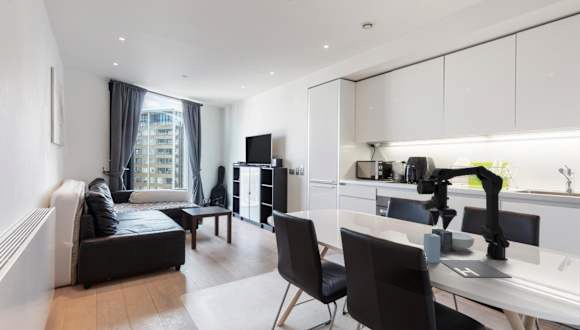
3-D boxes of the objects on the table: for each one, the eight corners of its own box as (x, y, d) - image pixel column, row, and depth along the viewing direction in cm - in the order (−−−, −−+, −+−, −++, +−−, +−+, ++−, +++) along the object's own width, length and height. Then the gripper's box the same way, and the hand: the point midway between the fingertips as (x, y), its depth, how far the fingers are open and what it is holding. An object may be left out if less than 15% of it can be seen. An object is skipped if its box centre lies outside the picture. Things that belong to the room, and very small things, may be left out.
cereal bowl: (481, 253, 142) (481, 239, 142) (447, 253, 143) (448, 239, 143) (461, 243, 159) (462, 231, 159) (431, 243, 160) (432, 230, 160)
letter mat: (479, 260, 132) (479, 260, 132) (511, 277, 113) (511, 276, 113) (438, 260, 131) (438, 259, 131) (464, 277, 112) (464, 276, 112)
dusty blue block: (434, 259, 133) (434, 233, 133) (439, 262, 128) (440, 236, 128) (423, 259, 133) (424, 233, 133) (428, 262, 128) (429, 236, 128)
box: (431, 249, 149) (431, 229, 149) (439, 248, 150) (440, 228, 150) (443, 253, 141) (443, 232, 141) (452, 252, 143) (452, 231, 143)
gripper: (415, 192, 144) (414, 222, 144) (432, 196, 126) (431, 231, 126) (437, 192, 144) (437, 223, 144) (457, 197, 125) (457, 232, 125)
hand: (439, 227), depth 135 cm, fingers open, 9 cm apart
